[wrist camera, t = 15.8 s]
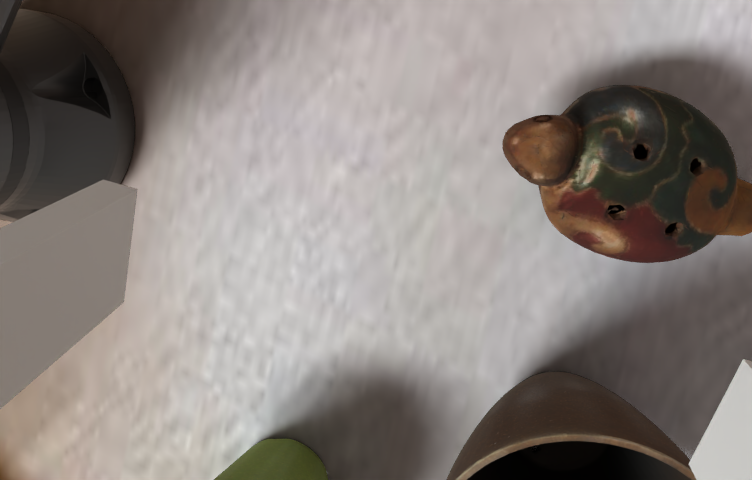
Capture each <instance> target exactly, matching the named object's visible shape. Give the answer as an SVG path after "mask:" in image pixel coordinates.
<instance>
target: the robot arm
mask: <svg viewBox="0 0 752 480" xmlns="http://www.w3.org/2000/svg"><path fill="white" fill-rule="evenodd" d="M21 2H22V0H0V220H4V221H10V222H13V223H10V224H8V225H6V226H4V227H2V228H0V409H1V408H2V407H3V406H4V405H6V404H7V403H8V402H9V401H10V400H11V399H12V398H14V397H15V396H16V395H17V394H18V393H19V392H21V391H22V390H23V389H24V388H25V387H26V386H27V385H29V384H30V383H31V382H32V381H33V380H34V379H36V378H37V377H38V376H39V375H40V374H41V373H43V372H44V371H45V370H46V369H47V368H48V367H49V366H51V365H52V364H53V363H54V362H55V361H56V360H58V359H59V358H60V357H61V356H62V355H63V354H64V353H66V352H67V351H68V350H69V349H70V348H71V347H73V346H74V345H75V344H76V343H77V342H78V341H79V340H81V339H82V338H83V337H84V336H85V335H86V334H88V333H89V332H90V331H91V330H92V329H93V328H95V327H96V326H97V325H98V324H99V323H100V322H101V321H103V320H104V319H105V318H106V317H107V316H108V315H110V314H111V313H112V312H113V311H114V310H115V309H116V308H118V307H119V306H120V305H121V304H122V303H123V302H124V296H125V288H126V279H127V271H128V263H129V255H130V247H131V238H132V230H133V222H134V214H135V205H136V197H137V189H135V188H132V187H128V186H125V185H121V184H120V183H121V181H122V179H123V178H124V176H125V173H126V171H127V169H128V166H129V163H130V160H131V156H132V152H133V146H134V137H135V122H134V112H133V107H132V102H131V98H130V94H129V91H128V88H127V85H126V83H125V80H124V78H123V76H122V74H121V72H120V70H119V68H118V66H117V65H116V63H115V62H114V60H113V59H112V57H111V56H110V54H109V53H108V52H107V50H106V49H105V48H104V47H103V46H102V45H101V44H100V43H99V42H98V41H97V40H96V39H95V38H94V37H93V36H92V35H91V34H90V33H88V32H87V31H86V30H85V29H83V28H82V27H80V26H79V25H77V24H75V23H73V22H72V21H70V20H67V19H65V18H63V17H60V16H57V15H54V14H50V13H45V12H40V11H34V10H27V9H19V7H20V5H21ZM689 466H690V468H691V470H692V472H693V474H694V476H695V478H696V480H752V361H749V360H746V359H743V360H742V362H741V364H740V366H739V368H738V370H737V372H736V374H735V376H734V378H733V380H732V381H731V383H730V385H729V387H728V389H727V391H726V393H725V395H724V397H723V399H722V401H721V403H720V405H719V406H718V408H717V410H716V412H715V414H714V416H713V418H712V420H711V422H710V424H709V426H708V428H707V430H706V431H705V433H704V435H703V437H702V439H701V441H700V443H699V445H698V447H697V449H696V451H695V453H694V454H693V456H692V458H691V460H690V462H689Z"/></svg>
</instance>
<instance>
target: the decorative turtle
mask: <svg viewBox="0 0 752 480" xmlns="http://www.w3.org/2000/svg"><path fill="white" fill-rule="evenodd" d="M503 151H504V154H505V157H506V158H507V160H508V161H509V163H510V164H511V166H512V167H513V168H514V169H515V170H516V171H517V172H518V173H519V175H521V176H522V177H524V178H525V179H527V180H528V181H529V182H531V183H534V184H536V185H539V190H540V194H541V199H542V203H543V207H544V209H545V212H546V214H547V216H548V218H549V220H550V221H551V223H552V224H553V225H554V227H555V228H556V229H557V230H558V231H559V232H560V233H562V234H563V235H565V236H566V237H567V238H569V239H570V240H572V241H573V242H575V243H577V244H579V245H581V246H582V247H584V248H587V249H589V250H591V251H593V252H595V253H598V254H602V255H605V256H607V257H610V258H615V259H619V260H624V261H630V262H639V263H654V262H665V261H671V260H675V259H679V258H682V257H685V256H687V255H690V254H692V253H694V252H696V251H698V250H700V249H701V248H703V247H704V246H706V245H707V244H708V243H710V242H711V241H712V240H713V238H714V237H715V236H716V235H735V236H743V235H746V234H749V233H751V232H752V184H751V183H748V182H746V181H743V180H741V179H739V178H737V167H736V163H735V159H734V155H733V152H732V150H731V148H730V146H729V144H728V142H727V140H726V138H725V136H724V135H723V133H722V132H721V131H720V130H719V129H718V127H717V126H716V125H715V124H714V123H713V122H712V121H711V120H710V119H709V118H707V117H706V116H705V115H704V114H703V113H701V112H700V111H699V110H697V109H696V108H694V107H693V106H691V105H689V104H688V103H686V102H684V101H682V100H681V99H678V98H676V97H674V96H672V95H669V94H667V93H664V92H662V91H658V90H655V89H651V88H647V87H641V86H631V85H613V86H608V87H603V88H598V89H595V90H592V91H590V92H588V93H586V94H584V95H582V96H581V97H579V98H578V99H577V100H576V101H574V102H573V103H572V104H571V105H570V106H569V107H568V108H567V109H566V110H565V111H564V112H563V113H562V114H561V115H560V116H559V115H540V116H535V117H532V118H529V119H526V120H524V121H521V122H519V123H516V124H514V125H513V126H512V127H511V128H509V129H508V131H507V132H506V133H505V136H504V139H503ZM624 209H625V210H624ZM623 210H624V211H623Z"/></svg>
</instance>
